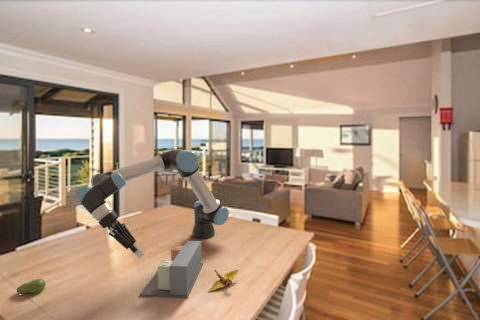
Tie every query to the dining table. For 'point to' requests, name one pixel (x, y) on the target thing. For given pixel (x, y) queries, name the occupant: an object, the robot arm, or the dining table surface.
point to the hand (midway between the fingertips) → (141, 256)
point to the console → (179, 273)
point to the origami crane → (224, 280)
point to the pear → (32, 286)
